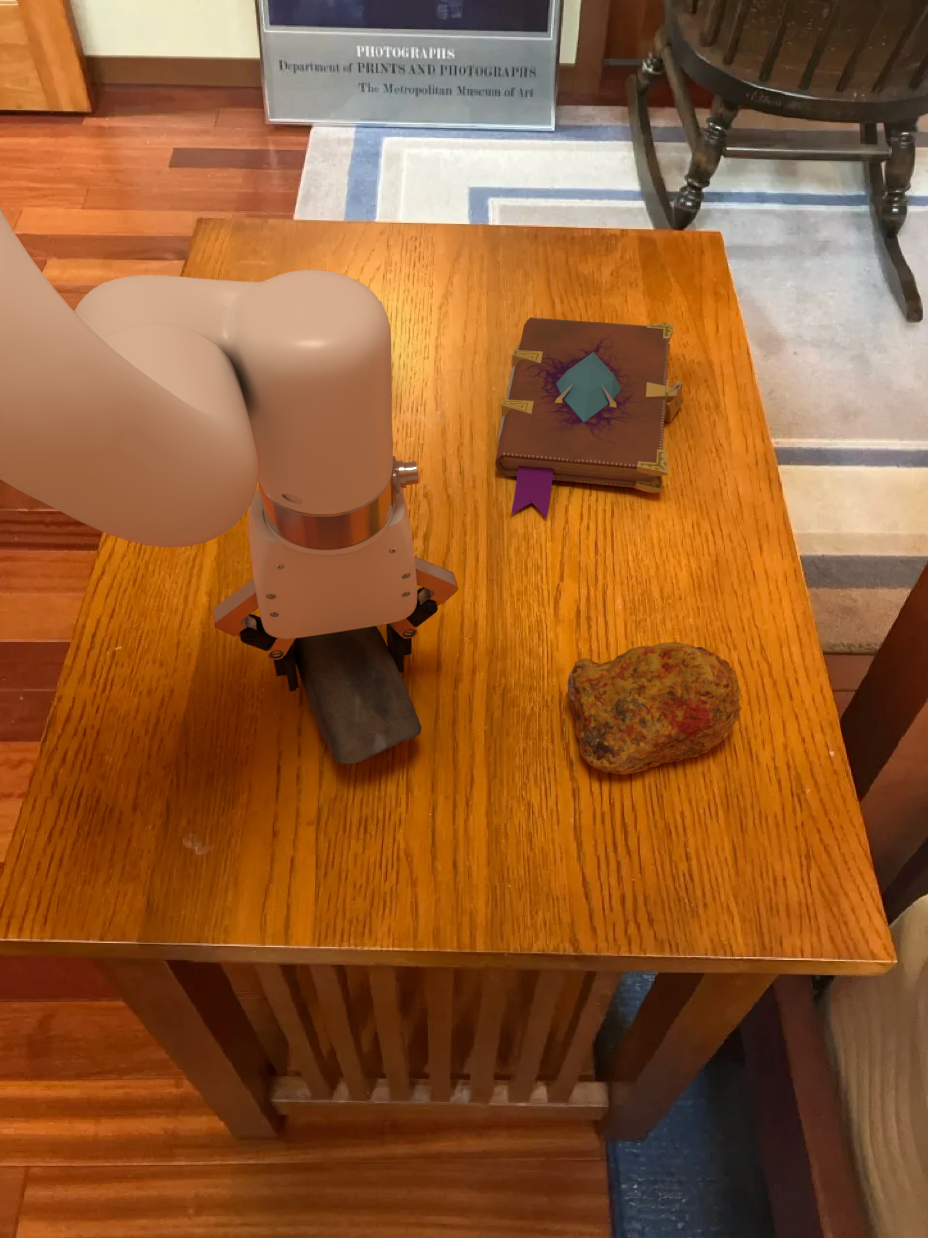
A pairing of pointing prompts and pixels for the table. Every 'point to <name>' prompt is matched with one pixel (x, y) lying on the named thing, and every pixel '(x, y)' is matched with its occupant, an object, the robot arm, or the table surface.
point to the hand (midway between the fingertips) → (344, 664)
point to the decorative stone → (355, 693)
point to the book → (586, 407)
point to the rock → (652, 706)
